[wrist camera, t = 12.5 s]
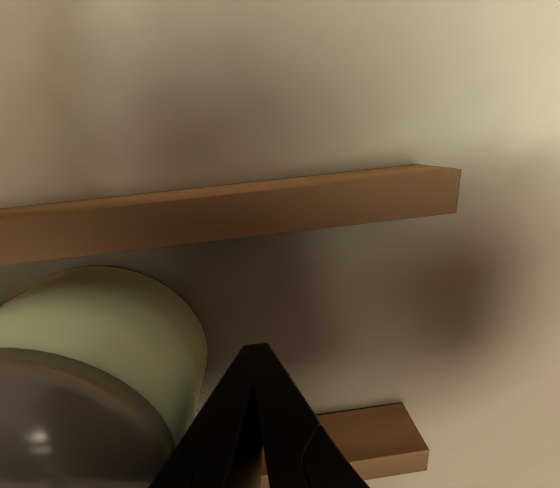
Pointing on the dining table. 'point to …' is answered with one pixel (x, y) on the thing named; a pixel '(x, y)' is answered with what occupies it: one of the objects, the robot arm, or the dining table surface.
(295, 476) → the robot arm
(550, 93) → the dining table surface
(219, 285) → the dining table surface
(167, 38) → the dining table surface
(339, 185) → the lane
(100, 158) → the dining table surface
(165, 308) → the green jar
